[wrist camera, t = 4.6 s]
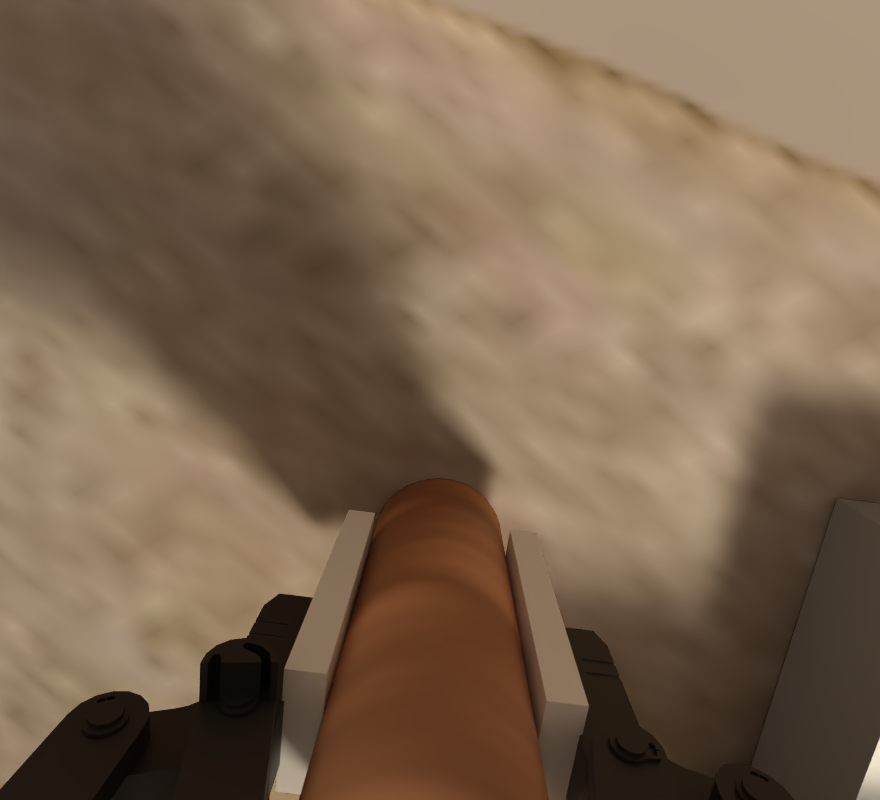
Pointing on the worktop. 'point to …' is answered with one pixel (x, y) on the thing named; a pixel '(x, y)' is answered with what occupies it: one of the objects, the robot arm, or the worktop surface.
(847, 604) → the socket block
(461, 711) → the peg
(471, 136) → the worktop surface
